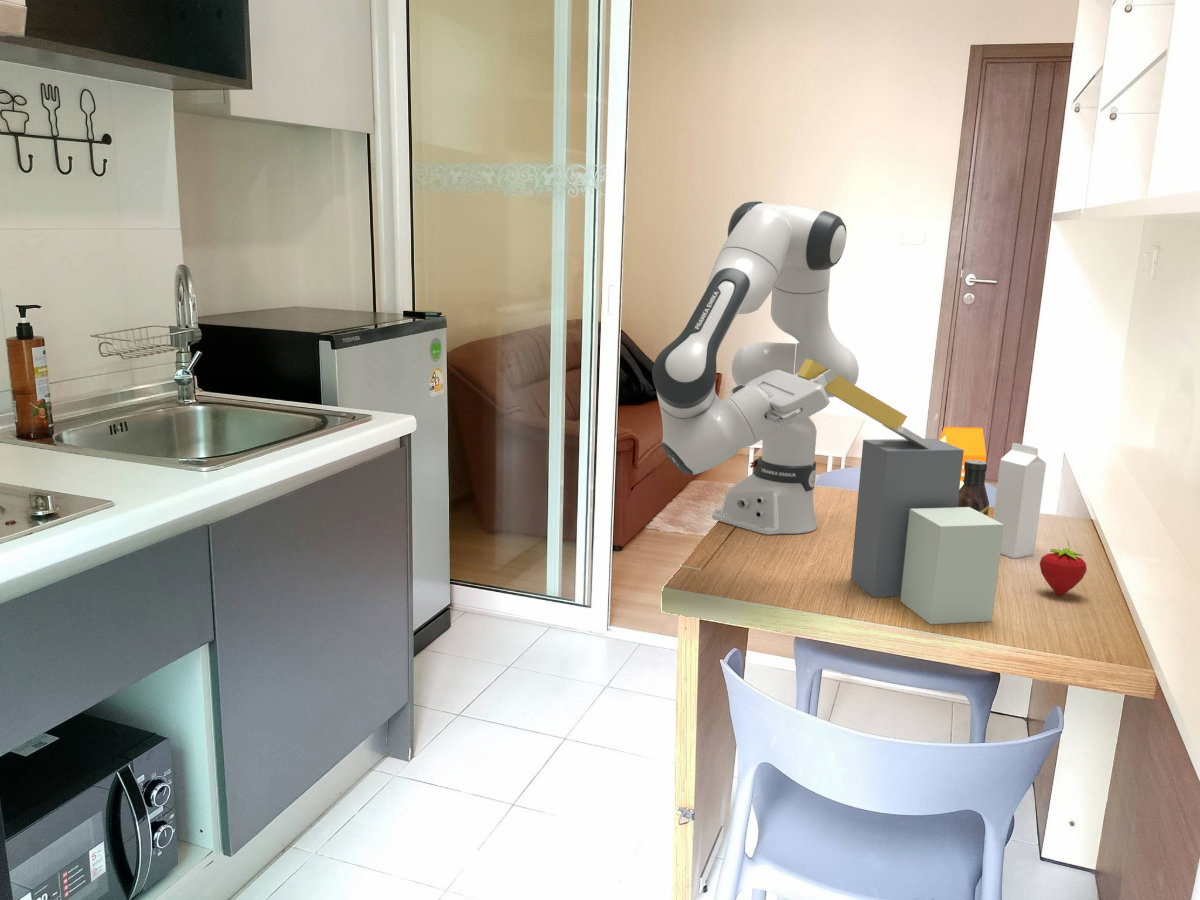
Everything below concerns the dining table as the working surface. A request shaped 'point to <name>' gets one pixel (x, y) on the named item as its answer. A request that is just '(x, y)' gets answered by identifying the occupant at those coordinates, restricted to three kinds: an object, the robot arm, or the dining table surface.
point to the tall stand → (897, 505)
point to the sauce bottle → (974, 487)
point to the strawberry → (1062, 570)
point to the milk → (1019, 499)
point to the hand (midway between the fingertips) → (827, 371)
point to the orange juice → (966, 443)
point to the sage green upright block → (951, 564)
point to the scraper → (863, 402)
